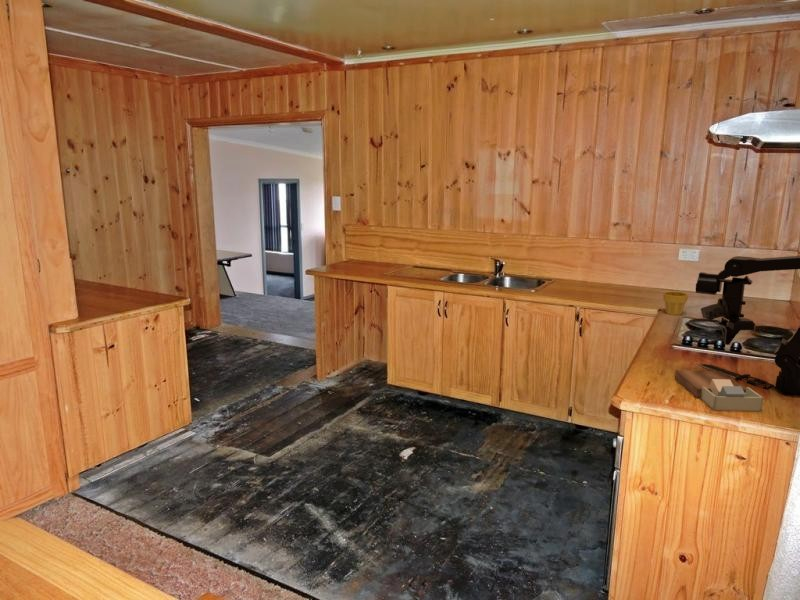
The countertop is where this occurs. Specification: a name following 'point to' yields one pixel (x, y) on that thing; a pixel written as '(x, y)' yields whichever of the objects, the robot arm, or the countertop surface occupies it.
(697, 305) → the countertop surface
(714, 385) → the cream block
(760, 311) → the countertop surface
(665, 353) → the countertop surface
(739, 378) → the knife
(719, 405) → the tray
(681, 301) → the plant pot
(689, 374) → the board
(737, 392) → the grey block
